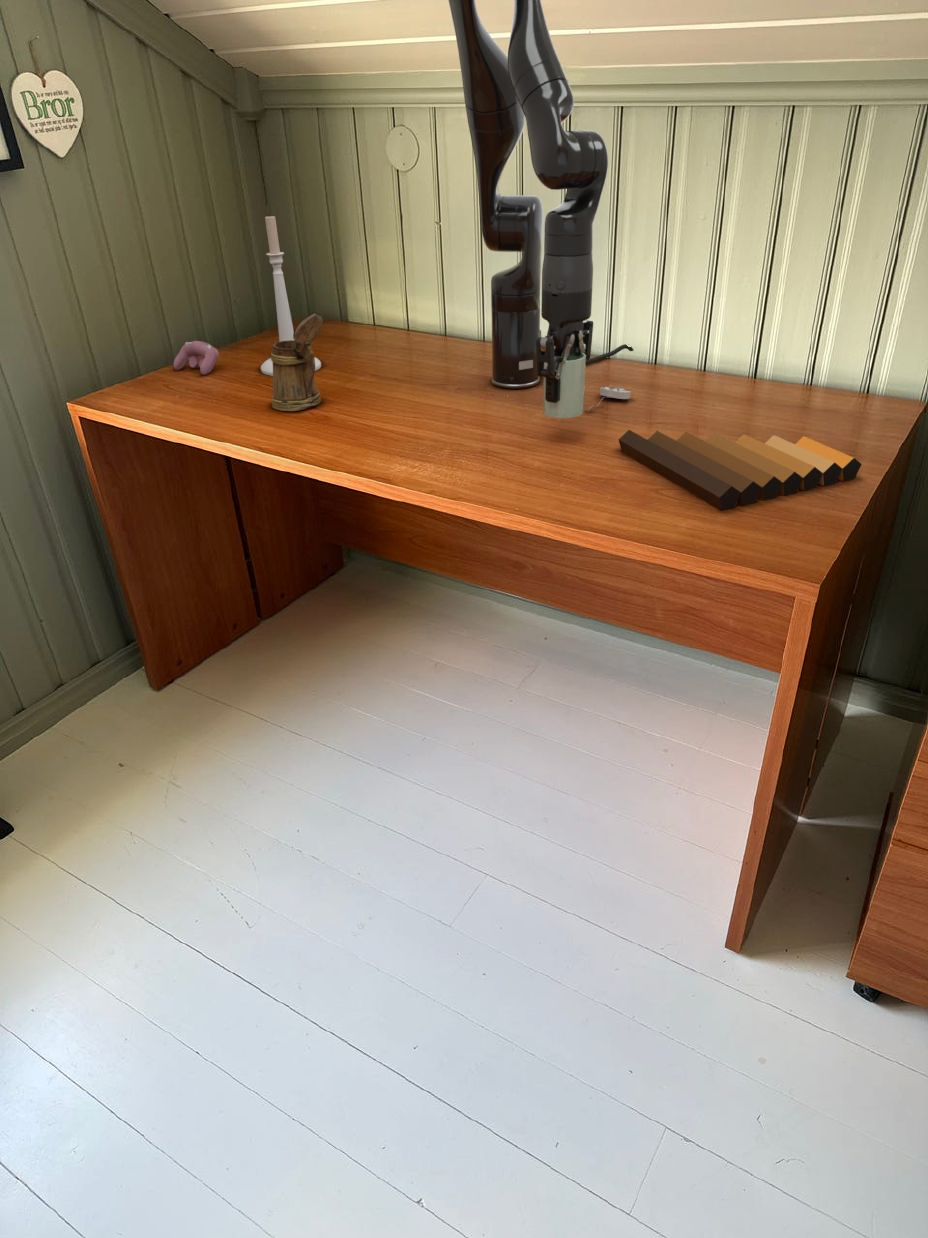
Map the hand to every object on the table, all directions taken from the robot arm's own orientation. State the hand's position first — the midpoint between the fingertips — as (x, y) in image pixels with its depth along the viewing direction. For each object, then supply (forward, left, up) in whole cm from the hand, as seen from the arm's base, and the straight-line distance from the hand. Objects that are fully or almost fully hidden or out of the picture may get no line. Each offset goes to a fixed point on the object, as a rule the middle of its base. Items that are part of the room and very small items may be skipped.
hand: (563, 395), depth 134 cm
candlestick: (-10, -72, -8) cm, 73 cm away
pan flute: (-4, +27, -8) cm, 29 cm away
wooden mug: (+8, -51, -8) cm, 52 cm away
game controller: (-21, -3, -8) cm, 23 cm away
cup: (0, 0, -3) cm, 3 cm away
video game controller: (+1, -89, -8) cm, 89 cm away
